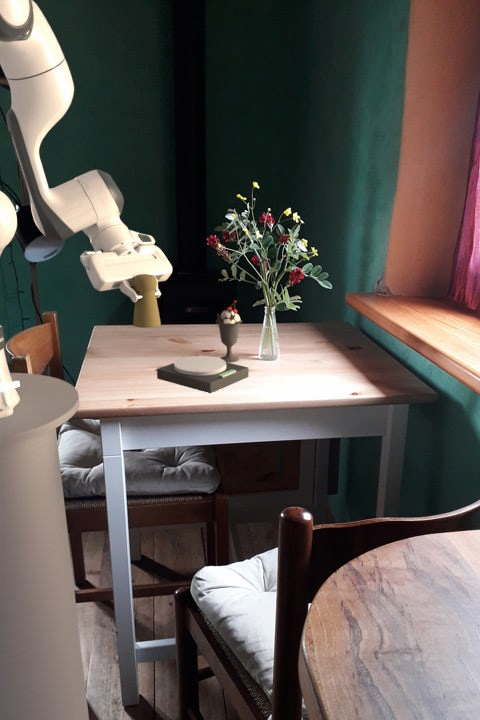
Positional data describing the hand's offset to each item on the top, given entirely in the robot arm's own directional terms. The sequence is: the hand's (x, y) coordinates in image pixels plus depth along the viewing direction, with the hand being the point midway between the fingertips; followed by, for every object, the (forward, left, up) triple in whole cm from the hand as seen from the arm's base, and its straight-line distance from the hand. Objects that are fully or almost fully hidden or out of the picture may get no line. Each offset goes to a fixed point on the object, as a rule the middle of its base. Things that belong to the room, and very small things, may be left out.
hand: (147, 298), depth 135 cm
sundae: (+24, -4, -19) cm, 31 cm away
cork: (0, +1, -6) cm, 6 cm away
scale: (+9, -8, -19) cm, 22 cm away
